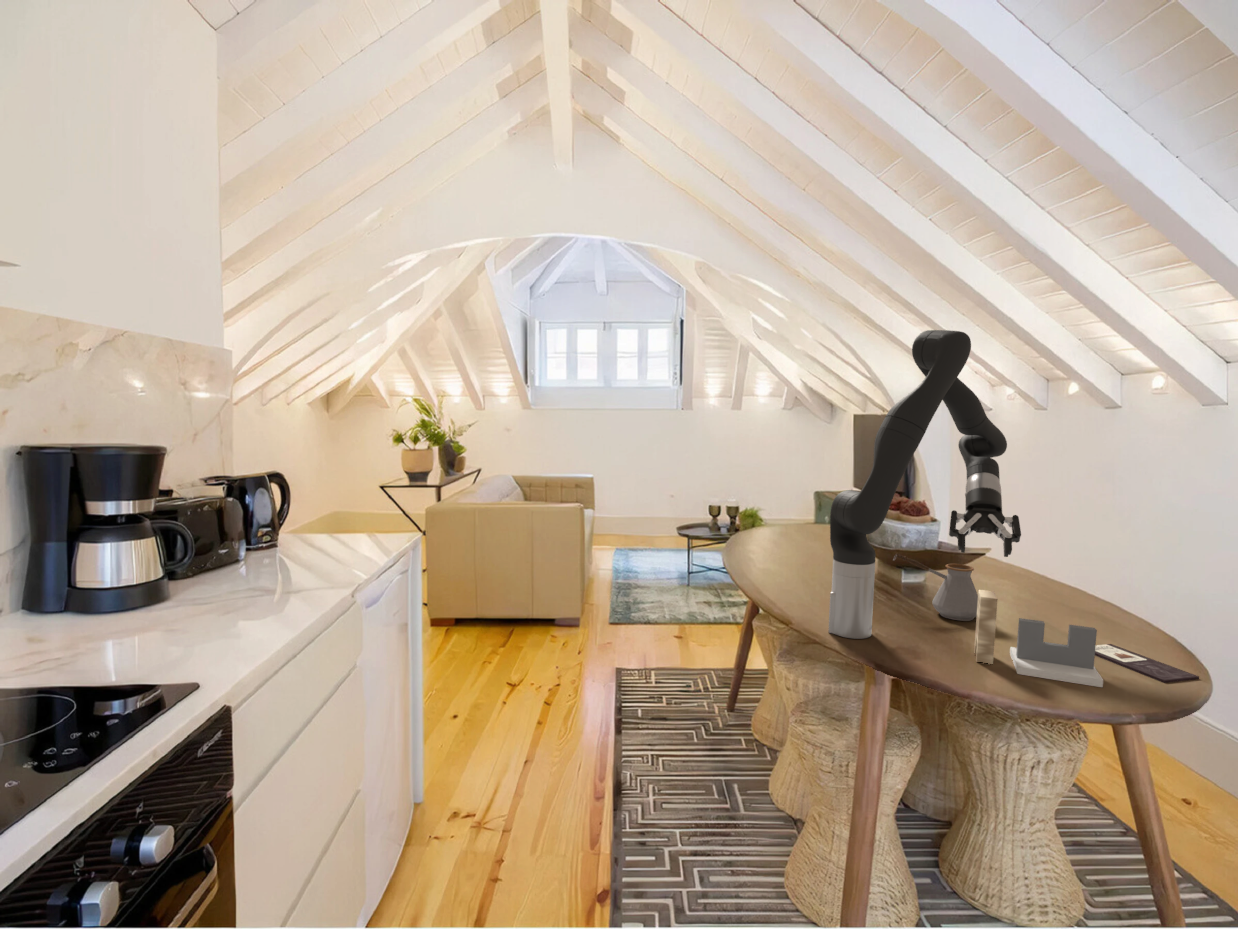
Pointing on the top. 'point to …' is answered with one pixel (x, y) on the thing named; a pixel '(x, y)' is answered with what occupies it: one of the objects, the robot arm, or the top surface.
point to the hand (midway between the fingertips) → (984, 552)
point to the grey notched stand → (1056, 654)
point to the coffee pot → (953, 591)
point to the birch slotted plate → (985, 626)
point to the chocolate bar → (1142, 664)
